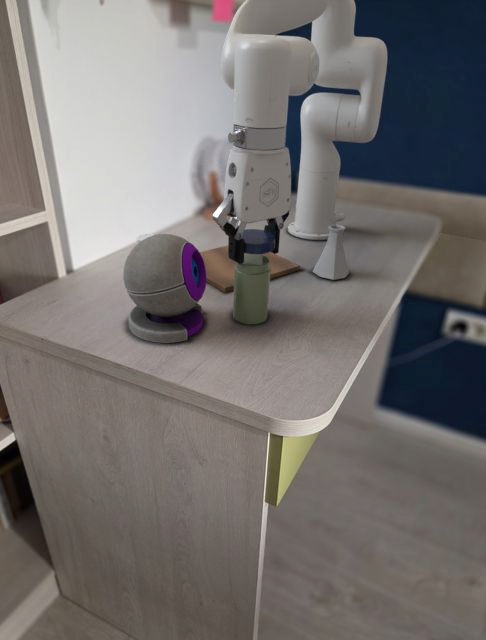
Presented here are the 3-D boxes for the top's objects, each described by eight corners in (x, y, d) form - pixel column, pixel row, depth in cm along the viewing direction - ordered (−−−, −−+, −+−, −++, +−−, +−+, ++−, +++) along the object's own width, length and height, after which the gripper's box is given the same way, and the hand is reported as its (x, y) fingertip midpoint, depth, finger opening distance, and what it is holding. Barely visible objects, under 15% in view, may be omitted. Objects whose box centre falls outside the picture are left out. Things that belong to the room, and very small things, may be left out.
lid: (259, 258, 76) (260, 247, 75) (225, 247, 79) (225, 236, 78) (282, 245, 81) (283, 235, 80) (249, 235, 84) (249, 226, 83)
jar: (246, 305, 90) (248, 250, 84) (273, 315, 87) (278, 259, 82) (225, 317, 86) (227, 260, 80) (254, 328, 83) (257, 269, 77)
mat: (246, 244, 117) (246, 240, 116) (300, 269, 105) (300, 265, 104) (173, 262, 106) (173, 258, 105) (224, 292, 94) (224, 287, 93)
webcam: (194, 347, 77) (192, 255, 69) (115, 337, 78) (105, 246, 70) (213, 310, 88) (214, 227, 80) (144, 301, 89) (138, 219, 81)
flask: (327, 264, 108) (333, 219, 103) (354, 274, 104) (362, 227, 99) (306, 272, 104) (311, 225, 99) (334, 283, 100) (341, 235, 94)
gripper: (227, 148, 64) (225, 276, 74) (320, 137, 74) (307, 252, 83) (194, 139, 69) (196, 260, 79) (285, 130, 78) (277, 238, 88)
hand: (253, 255), depth 81 cm, fingers closed on lid, 6 cm apart
